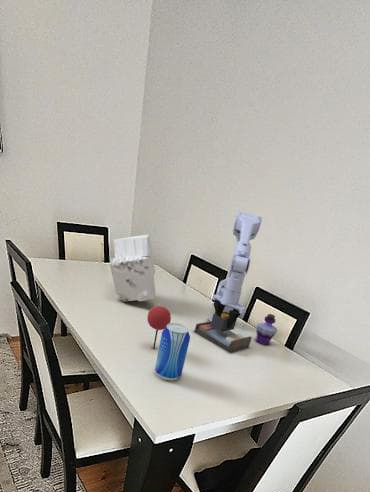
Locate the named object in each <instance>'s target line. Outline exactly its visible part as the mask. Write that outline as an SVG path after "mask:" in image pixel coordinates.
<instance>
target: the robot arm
mask: <svg viewBox="0 0 370 492" xmlns="http://www.w3.org/2000/svg"><path fill="white" fill-rule="evenodd" d="M234 219H235V220H234V222H233V223H234V224H233V228H232V234H233V236H234V237H235V246H234V250H233V254H232V257H231V260H230V264H229V270H228V274H227V278H225V279H223V280H220V282H219V283H218V286H217V290H216V293H215V294H213V296H212V301H215V302H213V304H212V305H213V307H214V313H213V314H216V313H222V312H228V313H229V320H228V324H227V328H231V327H232V325H233V324H234V322H235V321H236V322H237V320H238V318H239V317H240V316H241V315H245V313H246V307H243V306H242V305H241V304H240V303H239V302H240V299H241V294H242V288H243V284H244V280H245V277H246V275H247V274H248V272H249V269H250V266H251V252H252V251H251V250H252V244H251V243H250V241H252V240H255V238H256V237H257V236H258V233H259V231H260V228H261V225H262V222H263V221H262V219H263V218H262V216H261V215H255V214H251V213H247V212H243V211H241V210H238V211H237V212H236V216H235V218H234ZM212 318H213V317H210V318H208V321H212ZM236 319H237V320H236Z"/></svg>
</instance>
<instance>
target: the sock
mask: <svg viewBox="0 0 370 492" xmlns="http://www.w3.org/2000/svg"><path fill="white" fill-rule="evenodd" d="M221 318H223V319H229V314H226V313H222V315H221Z"/></svg>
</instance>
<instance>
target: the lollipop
mask: <svg viewBox="0 0 370 492" xmlns="http://www.w3.org/2000/svg"><path fill="white" fill-rule="evenodd" d="M171 315H172V314H171V312H170V311H169V310H168V309H167V308H166V307H164V306H162V305H156V306H153V307H151V308H150V309H149V311H148V313H147V323H148V326H150V327H151V328H152V329H153V330H155V335H154V341H153V347H152V349H154V350H155V348H156V344H157V339H158V338H157V337H158V332H159V331H163V330H164V329H165V328H166V326H167V324H169V323H171V321H172V320H171V319H172V316H171Z"/></svg>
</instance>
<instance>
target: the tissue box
mask: <svg viewBox="0 0 370 492" xmlns="http://www.w3.org/2000/svg"><path fill="white" fill-rule="evenodd" d="M112 241H113V242H112V243H113V252H114V257H111V258H110V263H109V267H110V272H111V276H112V280H113V285H114V288H115V289H114V290H115V293H116V296H118V300H119V301H123V302H124V303H126V302H133V301H138V302H143V301H144V302H146V301H151V300H153V299H154V298H156V295H157V293H156V291H157V290H156V283H155V274H156V267H155V262H154V257H153V256H154V255H153V251H152V244H151V239H150V234H148V233H147V234H141V235H134V236H128V237H120V238H114V239H112Z"/></svg>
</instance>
